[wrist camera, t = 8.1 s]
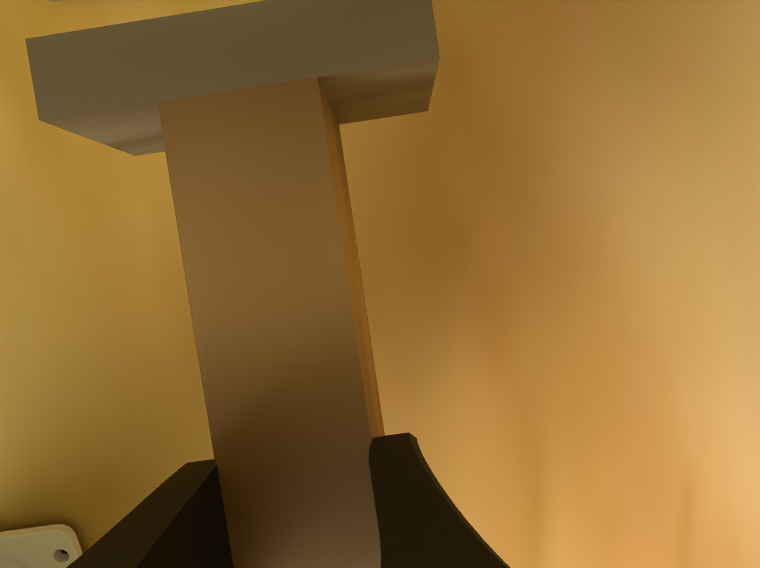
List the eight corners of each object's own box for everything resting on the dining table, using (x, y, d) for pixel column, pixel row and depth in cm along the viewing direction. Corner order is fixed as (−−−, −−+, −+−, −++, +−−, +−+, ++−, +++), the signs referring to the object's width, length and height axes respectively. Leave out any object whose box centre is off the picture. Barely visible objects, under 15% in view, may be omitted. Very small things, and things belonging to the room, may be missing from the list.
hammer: (508, 686, 13) (547, 839, 10) (226, 720, 14) (168, 883, 10) (419, 50, 13) (427, -26, 9) (125, 97, 13) (25, 39, 9)
